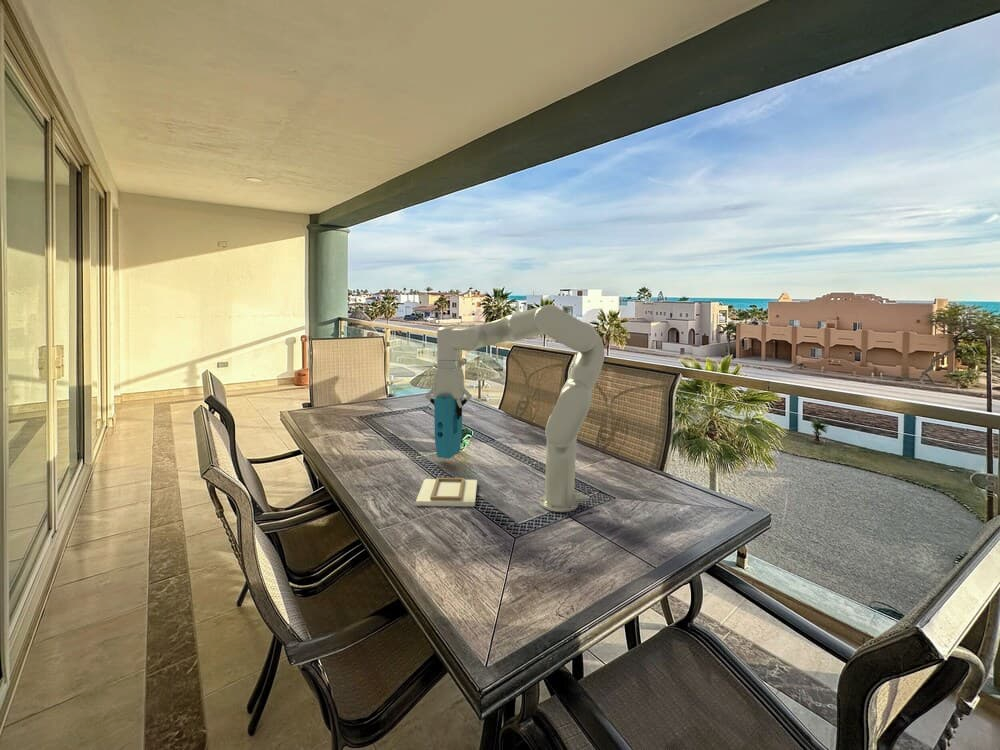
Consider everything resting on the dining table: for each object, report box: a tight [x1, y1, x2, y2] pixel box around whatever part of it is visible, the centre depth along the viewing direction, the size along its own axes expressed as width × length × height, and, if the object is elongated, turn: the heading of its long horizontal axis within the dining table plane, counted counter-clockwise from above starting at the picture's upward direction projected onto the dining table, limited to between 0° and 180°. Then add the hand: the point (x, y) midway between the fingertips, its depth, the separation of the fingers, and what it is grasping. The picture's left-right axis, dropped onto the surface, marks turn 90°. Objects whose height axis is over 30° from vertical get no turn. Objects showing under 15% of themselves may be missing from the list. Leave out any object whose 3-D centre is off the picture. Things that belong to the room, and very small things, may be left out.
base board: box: [415, 477, 478, 507], centre depth 157 cm, size 19×19×2 cm
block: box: [433, 397, 463, 459], centre depth 154 cm, size 12×5×20 cm, turn 160°
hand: (448, 417), depth 154 cm, fingers closed on block, 5 cm apart
